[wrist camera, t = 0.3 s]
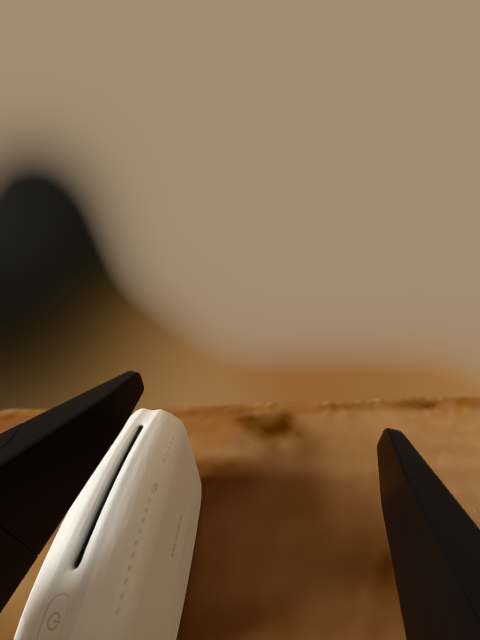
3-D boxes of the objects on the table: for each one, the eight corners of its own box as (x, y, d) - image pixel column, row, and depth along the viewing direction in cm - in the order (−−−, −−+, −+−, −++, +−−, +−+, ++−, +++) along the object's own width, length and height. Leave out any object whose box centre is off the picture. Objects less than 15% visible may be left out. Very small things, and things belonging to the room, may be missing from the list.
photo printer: (172, 696, 13) (75, 728, 6) (97, 684, 13) (-76, 700, 6) (208, 482, 21) (186, 392, 14) (162, 478, 22) (119, 388, 15)
